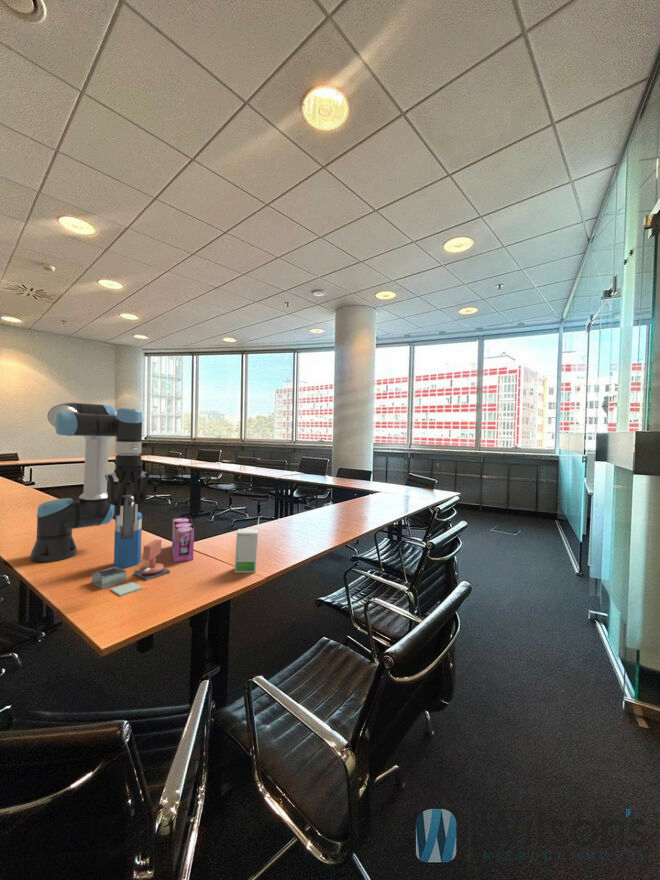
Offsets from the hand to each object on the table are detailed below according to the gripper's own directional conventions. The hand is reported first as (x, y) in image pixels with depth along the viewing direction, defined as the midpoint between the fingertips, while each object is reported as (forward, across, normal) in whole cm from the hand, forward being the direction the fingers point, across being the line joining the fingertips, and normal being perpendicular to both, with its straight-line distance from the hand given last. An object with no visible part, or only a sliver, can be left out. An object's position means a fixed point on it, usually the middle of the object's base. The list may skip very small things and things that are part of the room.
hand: (127, 523), depth 116 cm
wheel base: (+22, +12, +6) cm, 26 cm away
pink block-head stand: (+21, +12, +6) cm, 25 cm away
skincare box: (+23, +37, -17) cm, 47 cm away
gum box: (+22, +32, +19) cm, 44 cm away
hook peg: (+5, 0, 0) cm, 5 cm away
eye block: (+22, -1, +10) cm, 25 cm away
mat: (+22, 0, 0) cm, 22 cm away
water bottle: (+22, +11, +24) cm, 34 cm away
